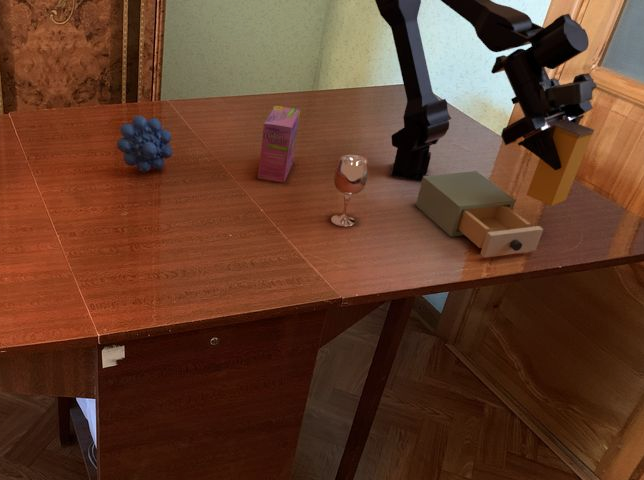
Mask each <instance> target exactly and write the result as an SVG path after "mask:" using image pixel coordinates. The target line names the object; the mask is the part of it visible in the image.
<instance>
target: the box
mask: <svg viewBox="0 0 644 480" xmlns="http://www.w3.org/2000/svg"><path fill="white" fill-rule="evenodd" d="M300 116H301V109H300V108H294V107H287V106H282V105H281V106H279V105H273V107H272V108H271V110H270V111H269V113H268V116H267V117H266V119H265V121H264V123H263V129H262V138H261V145H260V146H261V149H260V155H259V162H258V173H257V179H258V180H264V181H269V182H275V183H281V184H285V181H286V180H287V177H288V176H289V173H290V170H291V168H292V166H293V164H294V158H295V150H296V144H297V137H298V136H297V135H298V129H299V122H300Z"/></svg>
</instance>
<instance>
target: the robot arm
mask: <svg viewBox="0 0 644 480" xmlns="http://www.w3.org/2000/svg"><path fill="white" fill-rule="evenodd" d="M374 2H375V4H376V7H377V9H378V12H379V15H380V16H381V18H382V19H383V20H384V21H385V23H387V25H388V26H389V27H390V30H391V33H392V34H391V35H392V38H393V42H394V46H395V51H396V56H397V61H398V65H399V68H400V69H399V70H400V74H401V79H402V83H403V88H404V92H405V97H406V105H405V109H404V113H403V117H402V119H403V127H402V128H400V129H399V130H398V131H396V132H394V133H393V134H391V135H390V136H391V146H392V147H394V148H397V149H396V153H395V157H394V161H393V164H392V168H391V172H390V176H391V177H394V178H398V179H405V180H411V181H419V182H422V179H423V176H427V175H428V174H427V173H428V169H429V167H430V166H429V165H430V162H431V156H432V152H431V151H430V146H432V145H437V144H438V142H439V140H440V139H442V138H443V137H444V136H445V135H446V134H447V132H448V130H449V129H450V120H452V117H451V116H450V113H449V110H448V102H447V100H446V98H443V99H440V100H439V98H437V96H436V95H435V94H434V92H433V87H432V83H431V78H430V74H429V73H430V72H429V69H428V65H427V60H426V55H425V50H424V46H423V45H424V44H423V41H422V37H421V36H422V35H421V32H420V27H419V22H418V17H419V12H420V7H421V4H422V0H374ZM440 2H441V3H443V4H444V5H446V6H447V7H449V8H450V9H451V10H452V11H454V12H455V13H456V14H458V15H459V16H460V17H462V18H463V20H465V21H467V22H468V23H469V24H470V25H471V26H472V27H473V28H474V31H475V34H476V37H477V38H478V39H479V41H481V42H482V44H483V45H484V46H485V47H486V48H487V49H488V50H489V51H491V52H493V53H501V52H505V51H509V50H512V49H516V48H518V49H516V50H514V51H512V52H511V53H510V54H508V55H506V54H505V55H504V54H502V55H499V56H496V57H495V60H494V61H495V62H494V64H493V66H492V68H491V70H490V72H491V74H497V73H501V72H503V71H504V73H505V75H506V77H507V80H508V82H509V85H510V88H511V89H512V91H513V94H514V97H513V98H511V99H510V100H511V102H512V104H513V105H516V104H518V105H519V107H520V109H521V112H522V114H523V117H521V118H520V119H518V120H516V121H514V122H512V123H511V124H509V125H507V126H505V127H503V128H502V131H501V134H500V138H501V140H502V141H503V144H504V146H508V145H511V144H513V143H516V142H517V141H518V140H520V139H521V138H523V140H521V141H519V142H517V145H518V146H520V147H521V146H522V147H523V148H525V149H526V150H528V151H529V152H531V154H533V155H535V156H536V157H538V158H539V159H541V160H543V161H544V162H545V163H547V164H548V165H549V166H550V167H552V168H553V169H554V170H558V169H560V168H561V167H562V166H561V162H560V158H559V155H558V152H557V149H556V146H555V143H554V140H553V134H554V131H555V128H556V125H554V126H552V125H553V124H557V123H560V122H563V121H567V120H569V121H571V122H574V123H577V124H580V123H581V121H582V119H584V117H585V114H586V113H588V112H590V111H592V110H593V109H594V107H593V104H592V103H591V100H593V91H594V90H595V89H597V83H595V82H594V78H593V77H592V76H591V74H590V72H587V73H586V72H585V73H581V74H578V75H575V76H574V77H573V80H572V82H571V81H570V82H567V83H563V84H561V83H560V81H559V80H558V78H556V77H553V78H550V76H549V74H548V72H547V70H546V68H547V69H549V70H555V69H557V68H558V67H560V66H562V65H564V64H565V63H567V62H568V61H571V60H572V59H573V58H575V57H577V56H579V55H580V54H582V53H583V52H585V51H587V50H588V48H589V43H590V42H589V36H588V33H587V31H586V29H585V28H583V27H582V26H581V25H580V24H579V22H577V21H576V20H574V19H572V17H571V14H570V13H565V14H561V15H559V16H558V17H557V18H555V20H554V21H552V22H551V23H550V24H548V25H547V26H546V27H543V26H541V25H539V24H536V23H534V22H533V20H532V19H531V17H530V16H529V15H528V14H527V13H525V12H523V11H521V10H519V9H516V8H513V7H512V6H507V5H504V4H499V3H498V2H494V1H492V0H440ZM528 45H531V46H529V47H528V48H527V49H524V48H521V47H523V46H528ZM519 47H520V48H519Z"/></svg>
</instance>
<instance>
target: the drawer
mask: <svg viewBox="0 0 644 480" xmlns="http://www.w3.org/2000/svg"><path fill="white" fill-rule="evenodd" d="M457 229H458V230H459V231H461V232H462V233H463V234H464V235H463V236H465V237H466V238H467V239H469V241H471V242H472V243H473V244H474V245H475V246H477V247H478V248H479V249H481V251H480V256H482V257H483V258H490V257H491V258H492V257H498V256H499V257H500V256H505V255H512V254H513V255H514V254H521V253H529V252H536V251H537V248H538V245H539V243H540V240H541V238H542V234H543V232H544V228H543V227H542V226H540V225H536V226H531V223H530V222H529V221H528V220H527V219H525V218H524V217H523V216H521V215H520V214H519V213H517V212H516V211H515V210H514V209H513V210H512V209H510V208H509V207H508V206H507V205H501V206H492V207H483V208H475V209H466V210H462V212H461V215H460V219H459V222H458V226H457Z"/></svg>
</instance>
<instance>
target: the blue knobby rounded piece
mask: <svg viewBox="0 0 644 480" xmlns="http://www.w3.org/2000/svg"><path fill="white" fill-rule="evenodd" d="M162 126H163V125H162V122H161V121H160V120H159V119H158V118H156V117H151V118H149V119H148V120H147V118H145V117H144V116H143V115H139V114H137V115H136V116H134V117H133V118H132V122H131V123H127V122H125V123H122V125H121V126H120V130H119V131H120V134H121V136H122V137H120V138H118V140H117V142H116V147H117V149H118V150H119V151H120V152H121V153H124V154H123V158H122V159H123V161H124V163H125V164H126V165H127V166H129V167H134V166H136V168H137V170H138V171H139V172H140V173H149V171H150V170H151V168H153V167H154V168H153V169H154V170H157V171H158V170H162V169H163V168H164V166H165V161H164V159H169V158H171V157H172V155H173V149H172V147H171V145H170V142H172V134H171V131H169V130H168V129H165V128H163V127H162ZM149 168H150V169H149ZM140 169H142V170H140ZM147 169H148V170H147Z"/></svg>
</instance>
